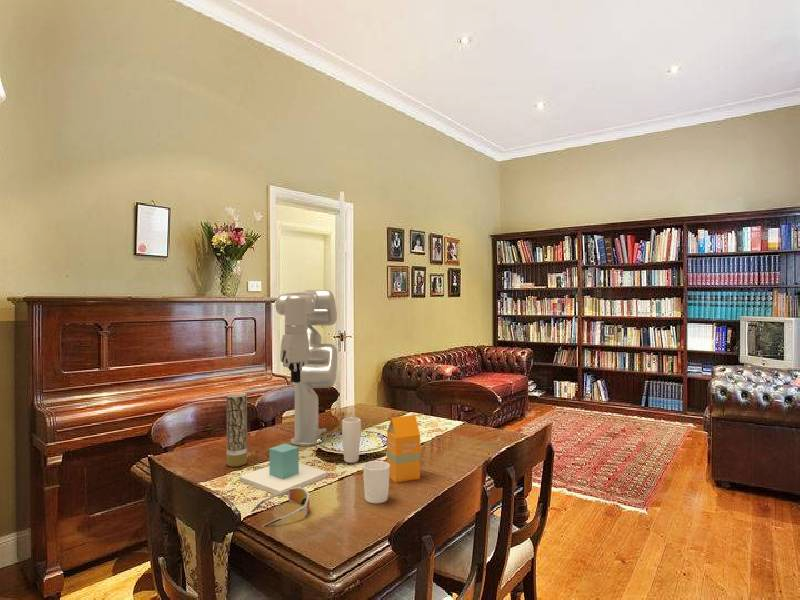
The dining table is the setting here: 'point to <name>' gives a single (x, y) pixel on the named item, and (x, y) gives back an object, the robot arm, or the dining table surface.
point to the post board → (278, 485)
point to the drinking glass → (351, 438)
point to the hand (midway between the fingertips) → (295, 381)
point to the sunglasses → (295, 496)
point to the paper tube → (236, 429)
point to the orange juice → (403, 449)
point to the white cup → (376, 481)
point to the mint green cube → (283, 461)
